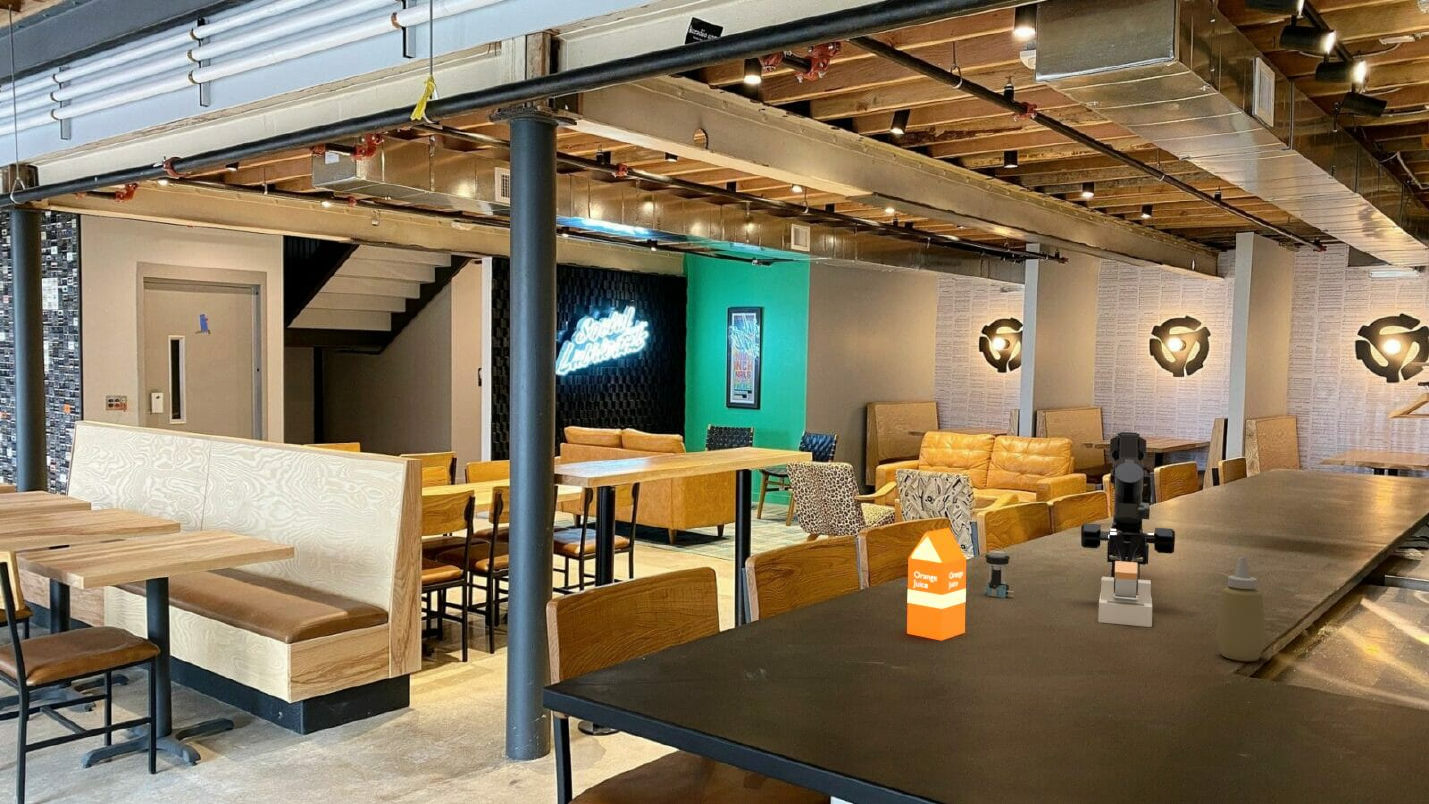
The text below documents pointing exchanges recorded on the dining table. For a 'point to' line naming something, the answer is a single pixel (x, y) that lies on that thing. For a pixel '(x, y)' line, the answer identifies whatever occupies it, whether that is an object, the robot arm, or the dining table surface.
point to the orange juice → (936, 587)
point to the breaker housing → (1125, 605)
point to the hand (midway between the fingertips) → (1126, 570)
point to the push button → (997, 574)
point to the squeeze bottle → (1241, 617)
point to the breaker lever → (1125, 579)
